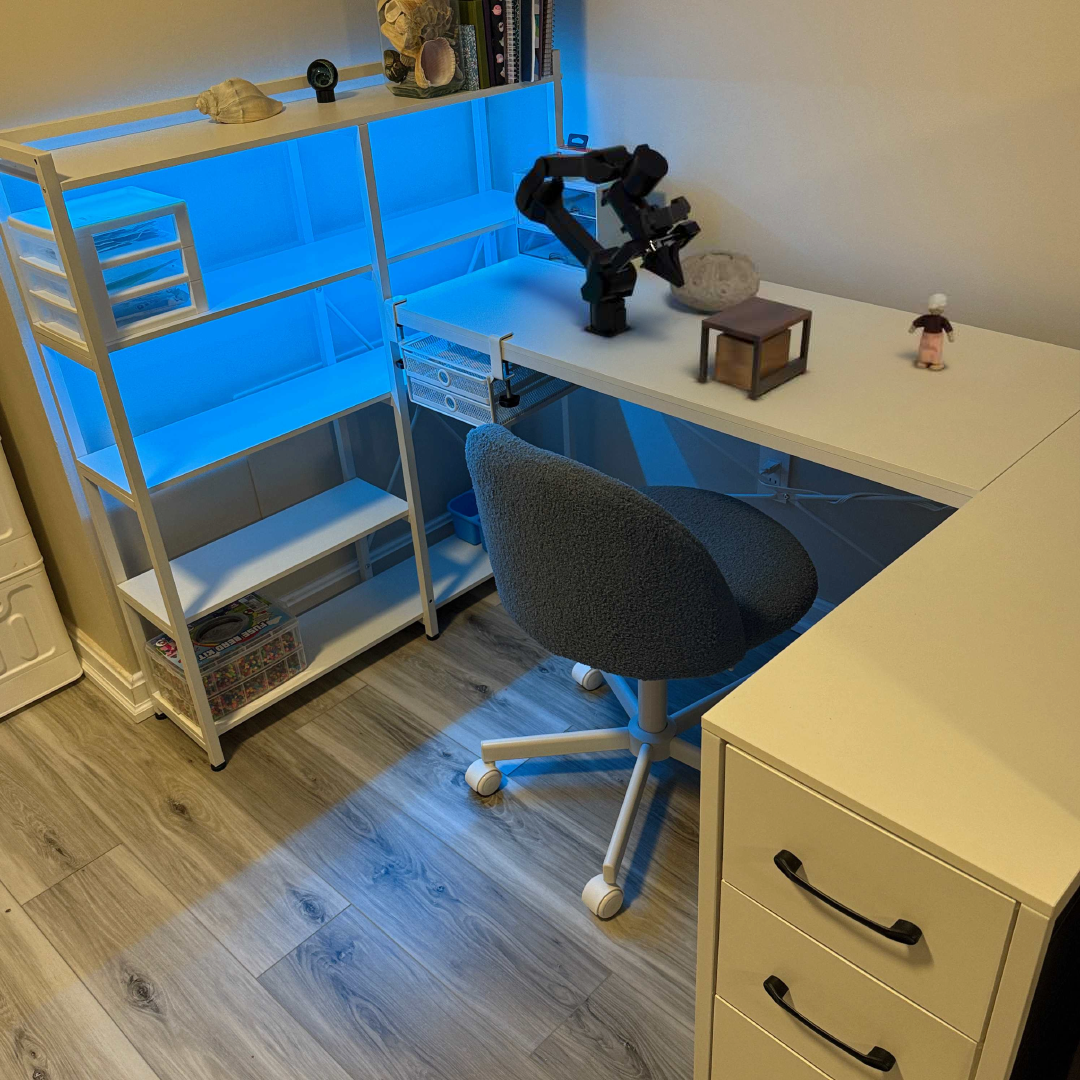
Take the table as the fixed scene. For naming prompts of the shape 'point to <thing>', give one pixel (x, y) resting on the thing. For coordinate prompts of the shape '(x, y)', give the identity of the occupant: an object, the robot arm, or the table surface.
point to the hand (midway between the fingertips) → (682, 286)
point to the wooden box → (748, 357)
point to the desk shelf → (759, 337)
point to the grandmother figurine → (932, 332)
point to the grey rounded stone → (717, 280)
